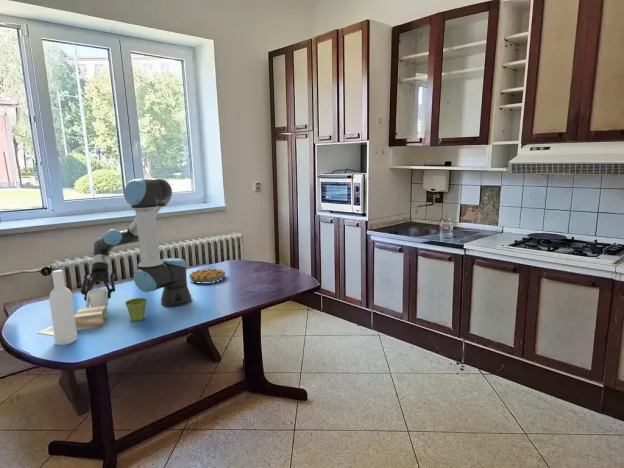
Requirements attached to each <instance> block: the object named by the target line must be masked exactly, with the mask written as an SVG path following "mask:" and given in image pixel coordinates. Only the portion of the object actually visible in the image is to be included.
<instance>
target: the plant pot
mask: <svg viewBox="0 0 624 468" xmlns="http://www.w3.org/2000/svg"><path fill="white" fill-rule="evenodd" d="M147 301H148V299H147V298H146V297H145V298H143V297H136V298H131V299H128V300H126V301H125V303H124V305H125V306H126V308H127V311H128V314H129V318H130V321H132V322H137V321H144V319H145V317H146V305H147Z"/></svg>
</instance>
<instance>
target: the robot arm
mask: <svg viewBox="0 0 624 468" xmlns="http://www.w3.org/2000/svg"><path fill="white" fill-rule="evenodd" d="M123 195H124V199H125V201H126V203H127V204H128V205H130V206H131V209H132V210H133V211H134V212H135V217H134V220H133V221H132V222H131V224H130V225H129V227H128V228H127V229H124V230H118V229H115V228H113V229H112V228H111V229H109V230H108V231H106V233H105V234H104V235H103V236H102V237H101V236H100V237H98V238H95V240H94V244H93V252H92V265H91V271H90V272H91V273H90V274H88V275H87V274H84V275H83V278H84V280H83V283H82V286H81V289H80V294H81V295H83V296H84V298H83V299H84V301H85V307H86V308H89V307H90V301H89V295H88V291H90V290H93V288H94V287H95V284H97V283H99V282H100V283H102V282H103V284H104V285H105V287H106V288H105V289H106V298H105V304H106V306H107V307H108V306H109V299H111V298H112V293H115V292H116V285H115V273H114V272H110V273H109V264H110V263H109V262H110V253H111V251H112V250H113V249H114V248H115V247H121V246H124V245H128V244H132V243H133V244H134V243H138V244H139V246H138V247H139V256H140V262H138V264H137V270H135V272H134V273H133V281H134V284H135V285H136V287H137V288H138V289H139V290H140V291H141V292H144V293H151V292H154V291H157V290H160V289H162V288H163V289H162V294H161V298H160V303H161V305H162V306H165V307H180V306H184V305H186V303H187V304H189V303H190V302H191V301H192V295H191V292H190V289H189V286H188V281H187V280H188V279H187V277H188V276H187V266H186V260H184V259H182V258H178V257H177V258H176V257H175V258H173V257H170V258H169V257H168V258H162V259H161V256H160V248H159V247H160V246H159V237H158V229H157V228H158V226H157V218H156V217H157V215H158V214H159V212H160V210H162V208H165V207H167V205H168V204H169V202H171V199H172V196H173V189H172V186H171V184H170V183H169V182H168V181H167V180H165V179H163V178H160V177H156V178H155V177H154V178H153V177H152V178H134V179H132V180H129V181H128V182H127V183H126V185H125V187H124V192H123ZM108 277H109V279H110V285H111V288H110V285H109V284H108V281H107V280H106V279H107V278H108ZM90 279H91V280H90ZM89 280H90V283H89ZM88 283H89V284H88ZM188 302H189V303H188ZM183 304H184V305H183ZM179 305H180V306H179Z"/></svg>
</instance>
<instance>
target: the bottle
mask: <svg viewBox="0 0 624 468" xmlns="http://www.w3.org/2000/svg"><path fill="white" fill-rule="evenodd" d="M51 277H52V281H53V289H52V290H51V292H50V293H49V297H48V298H49V306H50V308H49V309H50V315H51V320H52V326H53V330H54V342H55V345H58V346H65V345H70V344H73V343H74V341H75V342H76V341H77V340H78V332H77V331H78V330H76V323H75V308H74V301H73V293H72V292H71V289H70V288H68V287H66V286H65V285H66V284H65V278H64V271H63V270H62V269H56V270H53V271H51Z"/></svg>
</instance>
